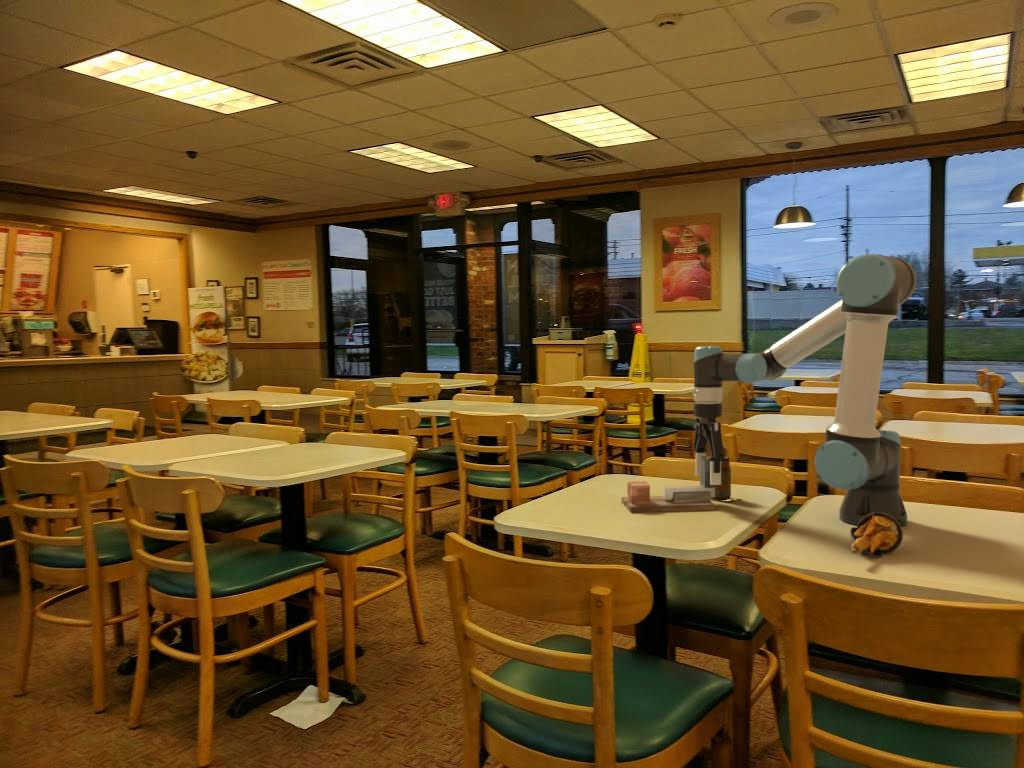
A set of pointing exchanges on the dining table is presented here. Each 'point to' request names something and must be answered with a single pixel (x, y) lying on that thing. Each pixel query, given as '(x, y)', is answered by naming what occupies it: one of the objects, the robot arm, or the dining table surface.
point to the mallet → (703, 487)
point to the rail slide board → (664, 500)
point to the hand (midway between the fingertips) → (707, 480)
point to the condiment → (724, 482)
